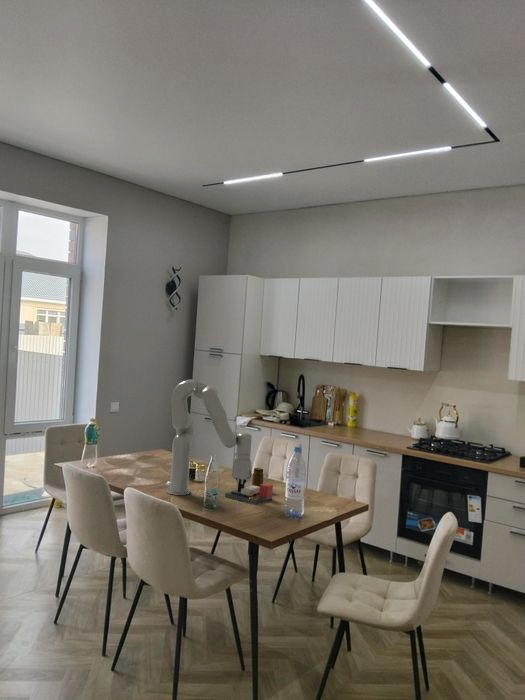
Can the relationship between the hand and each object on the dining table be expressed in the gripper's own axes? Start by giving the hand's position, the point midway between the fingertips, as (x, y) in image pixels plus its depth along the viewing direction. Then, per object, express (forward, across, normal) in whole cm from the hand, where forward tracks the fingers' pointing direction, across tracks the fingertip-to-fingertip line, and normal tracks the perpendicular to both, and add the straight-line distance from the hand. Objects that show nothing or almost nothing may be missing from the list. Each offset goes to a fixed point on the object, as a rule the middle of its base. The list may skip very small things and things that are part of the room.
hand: (240, 491), depth 299 cm
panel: (+3, +4, +2) cm, 6 cm away
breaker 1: (+1, +4, 0) cm, 5 cm away
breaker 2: (+1, +4, +6) cm, 7 cm away
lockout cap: (+1, +12, +6) cm, 13 cm away
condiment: (+4, -2, +20) cm, 20 cm away
